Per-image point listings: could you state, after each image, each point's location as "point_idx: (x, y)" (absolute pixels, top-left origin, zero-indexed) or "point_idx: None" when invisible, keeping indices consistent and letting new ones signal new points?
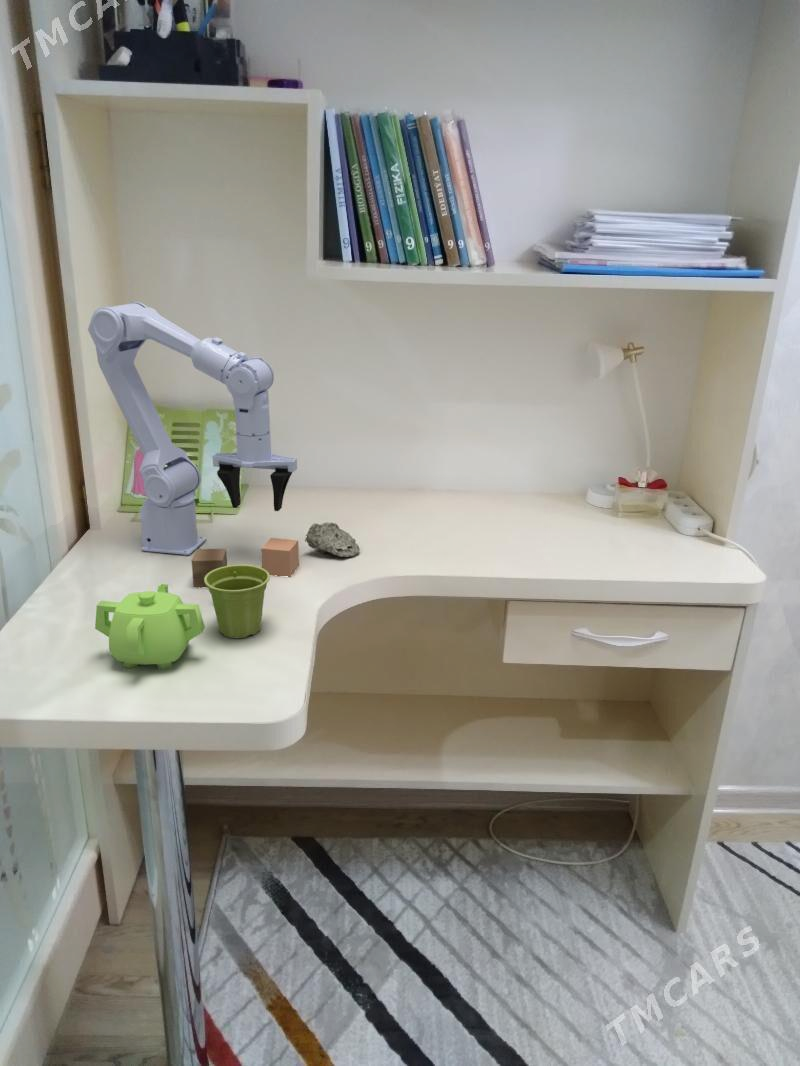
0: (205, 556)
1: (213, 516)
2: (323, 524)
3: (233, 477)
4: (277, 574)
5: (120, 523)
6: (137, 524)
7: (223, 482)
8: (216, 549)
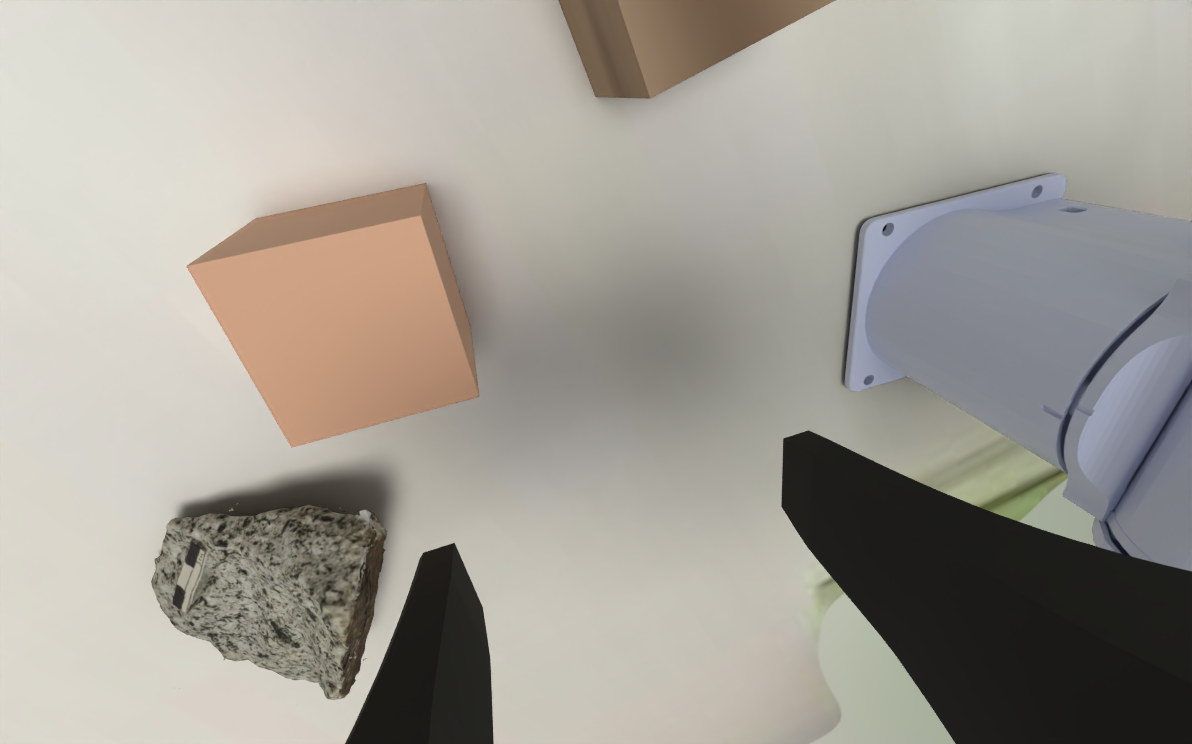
0: None
1: None
2: (336, 659)
3: (1052, 697)
4: (332, 203)
5: None
6: None
7: (1117, 559)
8: (706, 49)
